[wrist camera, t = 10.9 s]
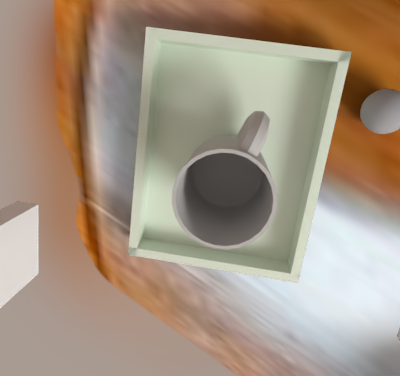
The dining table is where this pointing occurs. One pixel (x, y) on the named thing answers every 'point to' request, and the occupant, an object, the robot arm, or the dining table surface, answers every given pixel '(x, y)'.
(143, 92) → the tray
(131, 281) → the dining table surface
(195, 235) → the cup
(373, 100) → the mixing ball
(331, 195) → the dining table surface
